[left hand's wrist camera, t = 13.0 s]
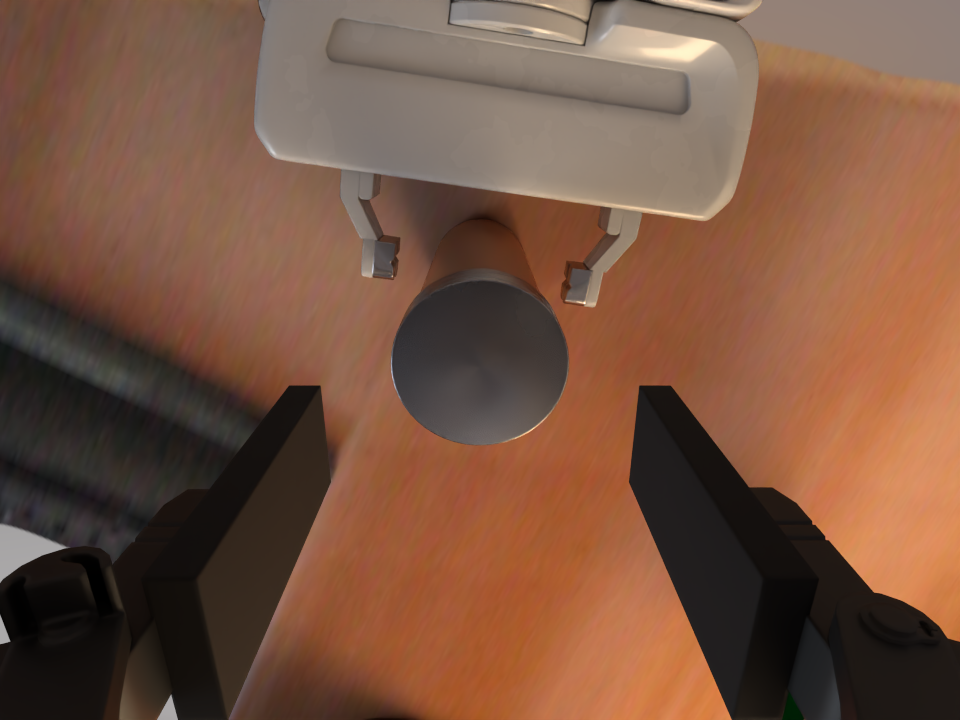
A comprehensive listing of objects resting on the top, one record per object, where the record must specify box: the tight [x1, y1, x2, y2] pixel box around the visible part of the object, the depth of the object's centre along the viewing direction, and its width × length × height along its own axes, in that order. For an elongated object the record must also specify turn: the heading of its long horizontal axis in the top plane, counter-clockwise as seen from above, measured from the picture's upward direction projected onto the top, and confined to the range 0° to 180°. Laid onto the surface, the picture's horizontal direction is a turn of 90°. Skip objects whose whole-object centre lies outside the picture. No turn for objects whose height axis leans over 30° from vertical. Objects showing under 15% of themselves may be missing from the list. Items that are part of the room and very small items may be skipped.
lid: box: [391, 268, 569, 445], centre depth 19 cm, size 6×6×2 cm
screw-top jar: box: [421, 219, 539, 291], centre depth 26 cm, size 5×5×16 cm
